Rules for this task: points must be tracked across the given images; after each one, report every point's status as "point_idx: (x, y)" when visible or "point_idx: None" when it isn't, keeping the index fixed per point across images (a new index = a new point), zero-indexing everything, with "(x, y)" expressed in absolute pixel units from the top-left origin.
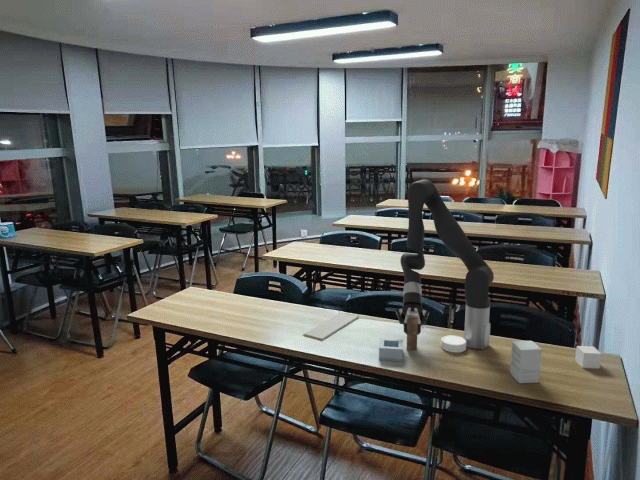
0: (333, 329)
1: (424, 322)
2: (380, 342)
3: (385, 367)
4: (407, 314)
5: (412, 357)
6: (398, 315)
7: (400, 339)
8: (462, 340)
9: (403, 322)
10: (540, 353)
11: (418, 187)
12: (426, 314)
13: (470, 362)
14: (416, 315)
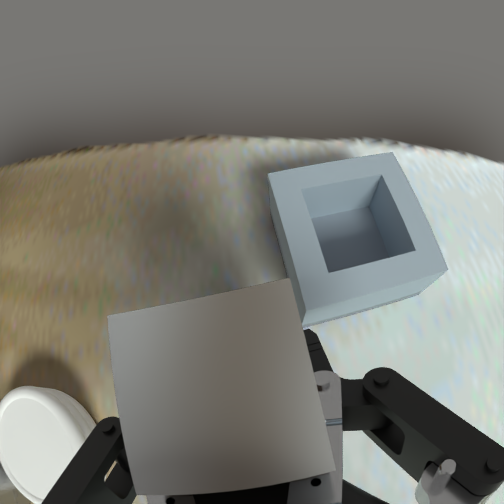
0: None
1: (105, 422)
2: (420, 213)
3: (324, 146)
4: (291, 296)
5: (231, 273)
6: (440, 412)
7: (323, 304)
8: (4, 447)
9: (345, 386)
10: None
11: None
12: (60, 499)
13: (8, 309)
14: (132, 311)
